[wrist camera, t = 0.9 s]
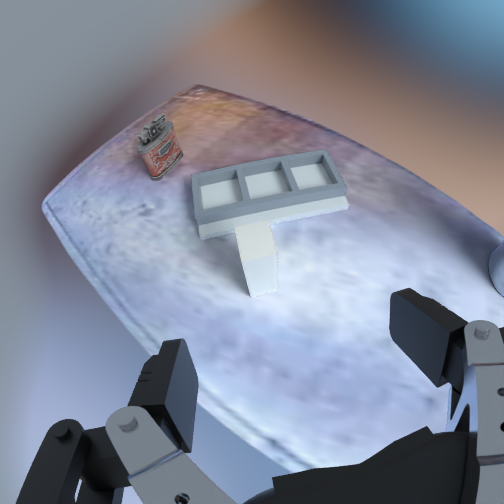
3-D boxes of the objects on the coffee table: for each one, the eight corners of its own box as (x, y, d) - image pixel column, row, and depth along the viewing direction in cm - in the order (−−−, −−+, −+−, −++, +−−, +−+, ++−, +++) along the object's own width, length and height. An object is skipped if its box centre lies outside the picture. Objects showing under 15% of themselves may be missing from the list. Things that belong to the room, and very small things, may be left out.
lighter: (160, 182, 47) (140, 140, 38) (147, 178, 48) (126, 137, 39) (187, 153, 50) (173, 111, 41) (174, 150, 51) (159, 109, 42)
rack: (320, 156, 47) (322, 142, 44) (347, 209, 41) (351, 195, 38) (195, 181, 46) (190, 167, 43) (201, 240, 40) (195, 227, 38)
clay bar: (271, 264, 38) (268, 219, 29) (278, 291, 36) (277, 253, 27) (245, 269, 37) (234, 227, 29) (251, 297, 35) (241, 261, 27)
